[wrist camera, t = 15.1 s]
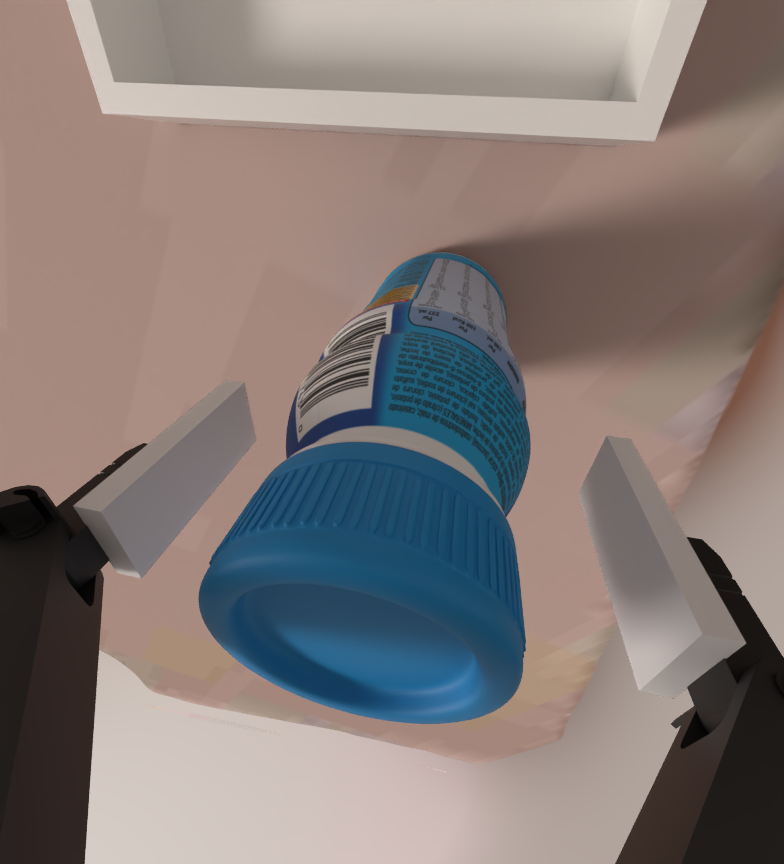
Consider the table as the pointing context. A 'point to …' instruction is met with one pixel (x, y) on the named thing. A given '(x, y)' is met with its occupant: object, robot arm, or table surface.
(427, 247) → the table surface
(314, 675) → the beverage bottle
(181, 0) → the tote
